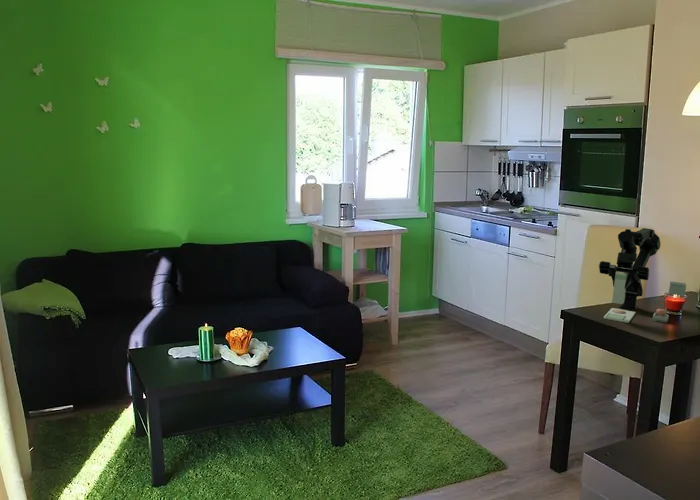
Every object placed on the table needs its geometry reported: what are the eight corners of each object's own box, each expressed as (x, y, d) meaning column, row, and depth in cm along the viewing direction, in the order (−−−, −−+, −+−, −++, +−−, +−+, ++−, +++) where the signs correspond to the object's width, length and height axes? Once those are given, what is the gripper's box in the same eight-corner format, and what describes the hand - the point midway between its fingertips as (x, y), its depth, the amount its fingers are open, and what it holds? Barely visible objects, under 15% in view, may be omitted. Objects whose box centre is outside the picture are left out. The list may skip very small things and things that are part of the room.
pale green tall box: (613, 300, 255) (617, 272, 253) (624, 302, 253) (627, 273, 251) (611, 302, 252) (615, 273, 249) (622, 304, 250) (626, 275, 247)
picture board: (611, 309, 267) (611, 307, 267) (635, 313, 262) (635, 311, 262) (603, 318, 252) (603, 316, 252) (628, 323, 247) (628, 321, 247)
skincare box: (666, 310, 269) (670, 283, 267) (665, 307, 273) (669, 281, 271) (682, 312, 267) (686, 285, 264) (681, 309, 271) (685, 282, 269)
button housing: (654, 317, 257) (654, 312, 256) (667, 320, 254) (668, 314, 254) (652, 320, 253) (653, 315, 252) (666, 323, 250) (667, 317, 249)
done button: (656, 312, 255) (657, 308, 255) (666, 314, 253) (667, 309, 253) (655, 314, 252) (656, 310, 252) (665, 316, 250) (665, 311, 250)
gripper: (602, 242, 256) (593, 272, 249) (651, 248, 246) (644, 279, 239) (604, 257, 264) (595, 287, 257) (651, 264, 254) (644, 295, 247)
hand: (619, 287), depth 250 cm, fingers closed on pale green tall box, 4 cm apart
